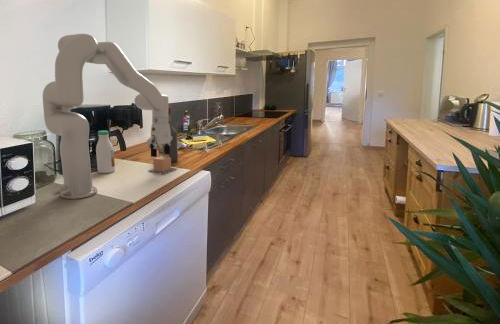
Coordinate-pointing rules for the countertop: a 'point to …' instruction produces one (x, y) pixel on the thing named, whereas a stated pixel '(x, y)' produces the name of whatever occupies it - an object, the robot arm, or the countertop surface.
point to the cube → (162, 163)
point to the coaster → (161, 171)
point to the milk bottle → (105, 153)
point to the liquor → (174, 144)
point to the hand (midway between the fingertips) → (160, 155)
